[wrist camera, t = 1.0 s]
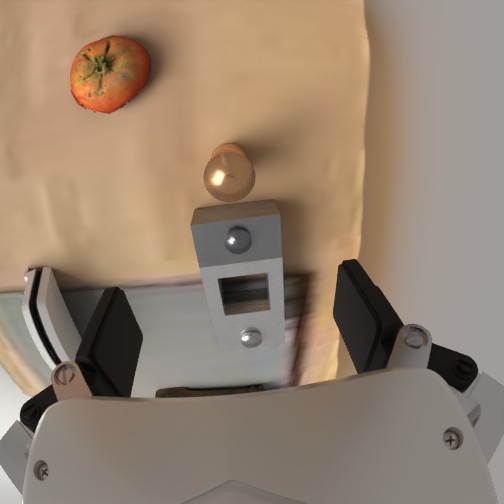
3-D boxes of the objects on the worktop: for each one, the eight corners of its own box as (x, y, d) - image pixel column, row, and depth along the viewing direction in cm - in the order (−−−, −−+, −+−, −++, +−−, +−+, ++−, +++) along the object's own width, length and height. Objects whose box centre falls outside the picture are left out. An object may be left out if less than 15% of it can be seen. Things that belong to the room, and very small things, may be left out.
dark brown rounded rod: (264, 380, 44) (267, 402, 40) (263, 392, 46) (266, 413, 42) (153, 380, 42) (150, 402, 38) (158, 392, 44) (155, 413, 40)
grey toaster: (25, 266, 29) (7, 311, 21) (52, 259, 31) (38, 304, 23) (65, 349, 37) (64, 397, 29) (88, 345, 39) (91, 393, 31)
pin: (206, 144, 25) (200, 156, 19) (246, 139, 25) (252, 149, 19) (211, 181, 27) (207, 204, 21) (250, 176, 27) (257, 198, 21)
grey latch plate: (194, 209, 28) (189, 228, 24) (273, 199, 28) (281, 216, 24) (220, 329, 37) (220, 355, 33) (279, 321, 37) (285, 347, 33)
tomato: (164, 96, 21) (88, 105, 16) (129, 116, 25) (66, 129, 20) (154, 24, 18) (83, 23, 13) (121, 54, 22) (60, 59, 17)
